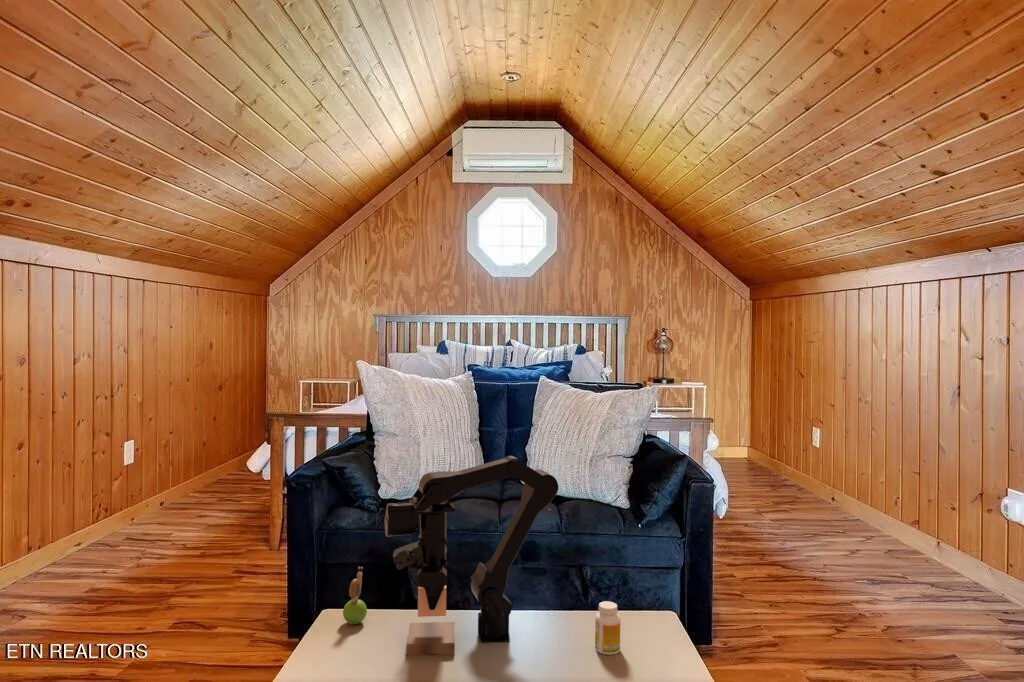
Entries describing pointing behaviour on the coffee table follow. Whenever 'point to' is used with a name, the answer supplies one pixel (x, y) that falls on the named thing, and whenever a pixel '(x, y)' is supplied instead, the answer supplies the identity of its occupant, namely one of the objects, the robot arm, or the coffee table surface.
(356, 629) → the coffee table surface
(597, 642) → the supplement bottle
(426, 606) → the terracotta cube
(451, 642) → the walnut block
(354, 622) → the snail figurine
